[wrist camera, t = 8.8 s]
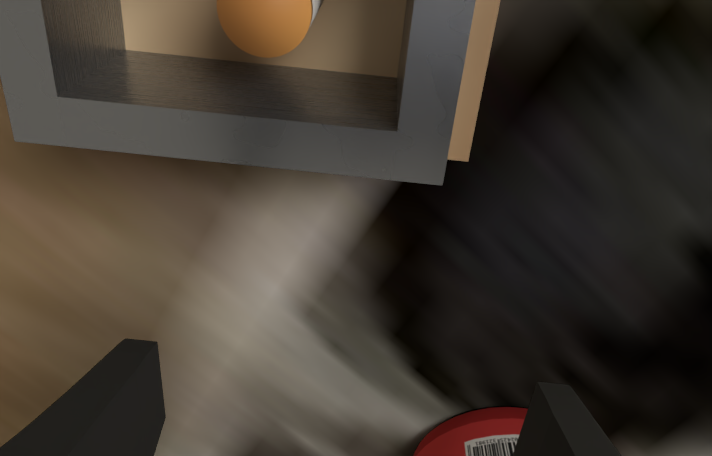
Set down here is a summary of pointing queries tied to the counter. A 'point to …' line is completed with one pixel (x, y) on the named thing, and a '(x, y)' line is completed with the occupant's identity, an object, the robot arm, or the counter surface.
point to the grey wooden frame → (232, 96)
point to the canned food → (475, 434)
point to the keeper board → (307, 40)
